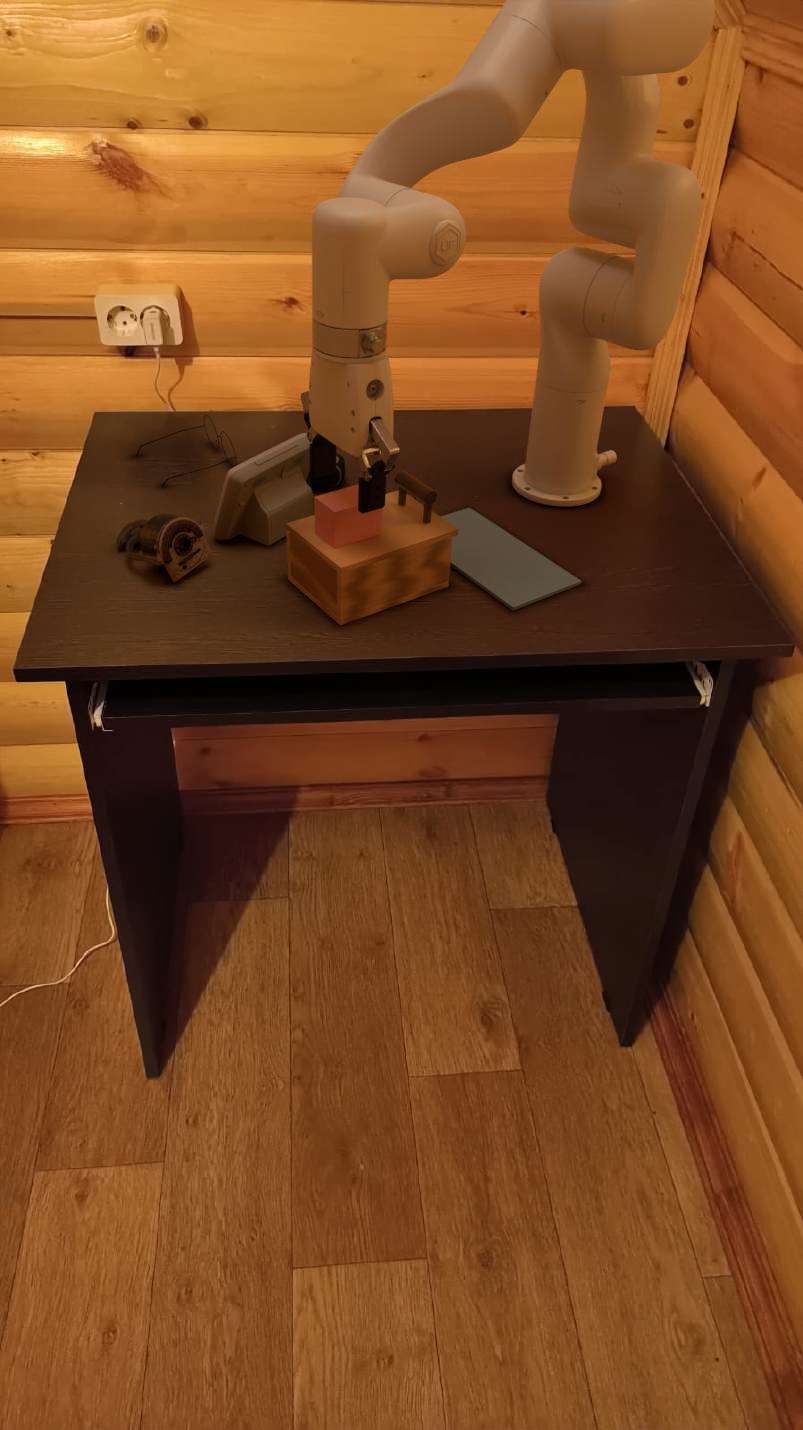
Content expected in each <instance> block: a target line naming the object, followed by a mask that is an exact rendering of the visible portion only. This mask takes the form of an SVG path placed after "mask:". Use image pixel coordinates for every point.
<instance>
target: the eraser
mask: <svg viewBox="0 0 803 1430" xmlns="http://www.w3.org/2000/svg"><path fill="white" fill-rule="evenodd" d="M358 487H359V483H358V484H354V485H350V486H348V487H343V488H341V489H336V490H333V491H330V492H329V491H328V492H327V493H323V494H320V495H316V496H313V504H314V515H315V534H317V535H318V536H319V537H320V538H322V539H323V540H324V541H325V542H327V543H328V544H329V545H330V546H332V547H333V548H334V549H336V548H339V547H342V546H345V545H348V544H352V543H355V542H358V541H361V540H364V539H367V538H371V537H374V536H377V535H380V534H381V529H382V508H381V509H378V510H374V511H371V512H367V513H364V514H362V513H361V512H359V511H358Z"/></svg>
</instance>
